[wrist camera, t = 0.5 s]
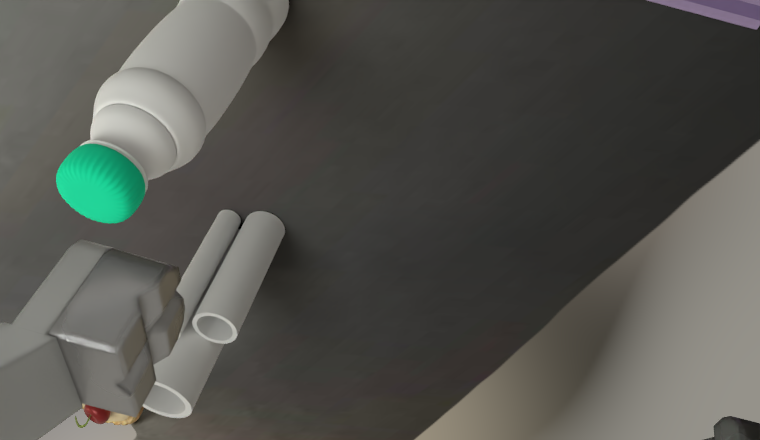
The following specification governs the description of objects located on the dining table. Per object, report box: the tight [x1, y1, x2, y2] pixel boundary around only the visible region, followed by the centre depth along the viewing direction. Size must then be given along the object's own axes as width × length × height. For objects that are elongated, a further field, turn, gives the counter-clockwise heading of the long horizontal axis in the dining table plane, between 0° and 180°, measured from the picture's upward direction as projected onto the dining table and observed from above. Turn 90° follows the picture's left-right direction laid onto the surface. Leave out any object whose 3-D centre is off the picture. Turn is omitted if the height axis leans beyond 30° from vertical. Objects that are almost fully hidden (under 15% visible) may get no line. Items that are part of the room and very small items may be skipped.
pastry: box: [75, 404, 144, 428], centre depth 107 cm, size 12×12×9 cm
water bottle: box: [56, 0, 289, 224], centre depth 49 cm, size 7×7×25 cm
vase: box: [143, 210, 285, 418], centre depth 72 cm, size 11×7×20 cm, turn 150°
